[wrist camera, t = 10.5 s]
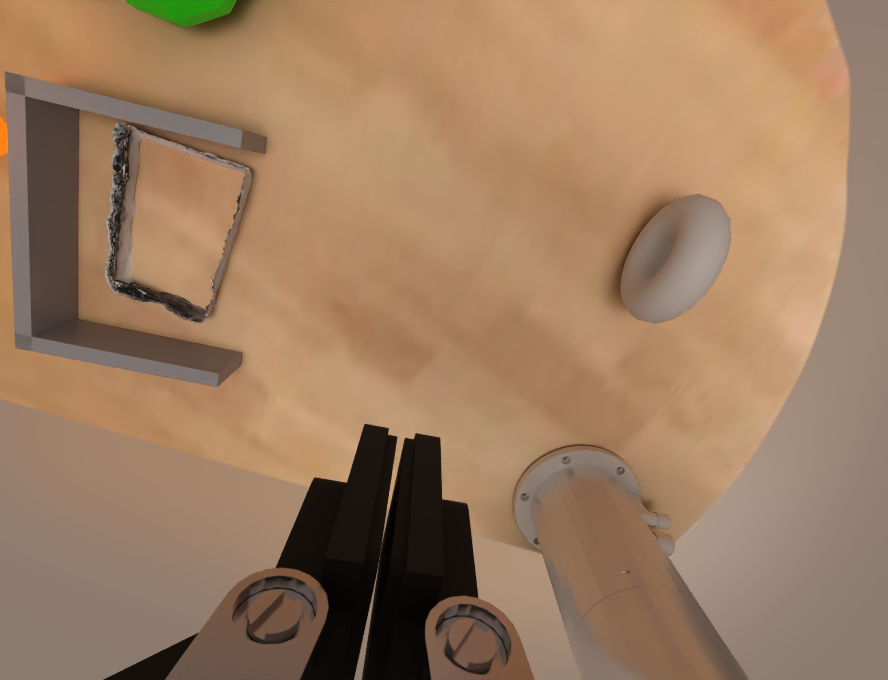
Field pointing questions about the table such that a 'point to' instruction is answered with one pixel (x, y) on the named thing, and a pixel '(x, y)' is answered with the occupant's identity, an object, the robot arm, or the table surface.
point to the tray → (56, 233)
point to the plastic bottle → (185, 10)
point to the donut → (675, 258)
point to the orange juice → (3, 138)
